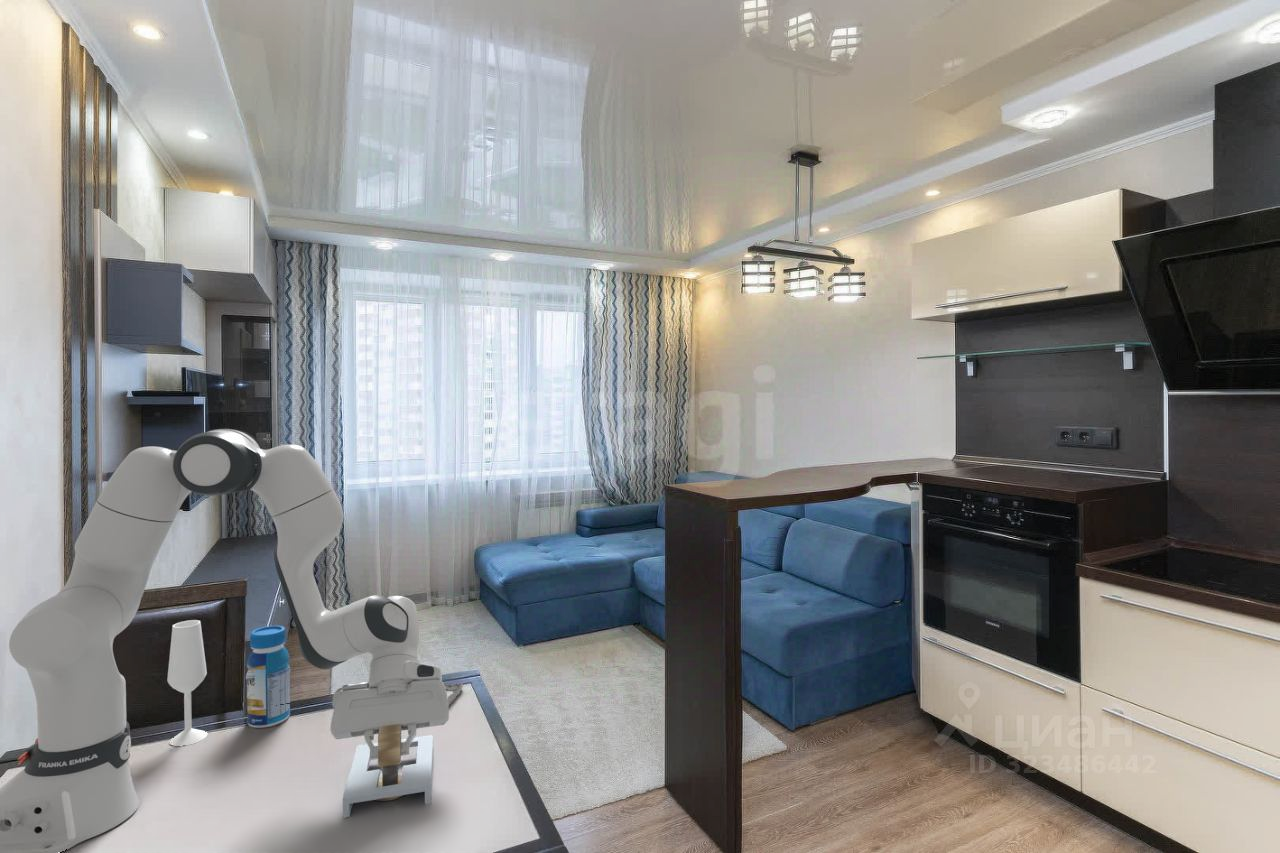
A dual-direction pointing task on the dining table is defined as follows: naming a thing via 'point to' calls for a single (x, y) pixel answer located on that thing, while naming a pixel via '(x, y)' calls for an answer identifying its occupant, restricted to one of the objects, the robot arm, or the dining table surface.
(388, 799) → the beech peg
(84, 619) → the robot arm
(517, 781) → the dining table surface
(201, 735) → the champagne flute
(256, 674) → the beverage bottle
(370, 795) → the keyhole plate
